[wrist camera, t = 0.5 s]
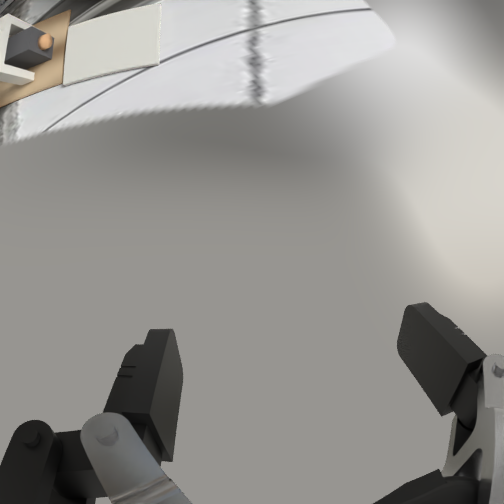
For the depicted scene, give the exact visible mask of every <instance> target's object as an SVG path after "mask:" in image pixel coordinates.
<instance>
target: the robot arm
mask: <svg viewBox="0 0 504 504" xmlns="http://www.w3.org/2000/svg"><path fill="white" fill-rule="evenodd" d="M397 349H398V353H399V355H400V357H401V359H402V360H403V361H404V363H405V364H406V366H407V367H408V368H409V370H410V371H411V373H412V374H413V375H414V377H415V378H416V380H417V381H418V383H419V384H420V385H421V387H422V388H423V390H424V391H425V392H426V394H427V396H428V397H429V398H430V400H431V402H432V403H433V404H434V406H435V408H436V409H437V411H438V412H439V414H440V415H441V416H443V415H446V414H448V413H450V412H453V411H454V412H455V414H456V415H455V416H454V418H453V421H452V428H451V435H450V441H449V447H448V453H447V458H446V463H445V466H444V468H443V470H442V472H440V470H439V469H437V470H435V471H433V472H431V473H429V474H426V475H424V476H422V477H419V478H417V479H415V480H412V481H410V482H407V483H405V484H404V485H402V486H401V487H399V488H398V489H396V490H394V491H393V492H391V493H390V494H388V495H387V496H385V497H383V498H382V499H380V500H378V501H377V502H375V503H373V504H504V356H502V355H497V354H493V355H489V356H487V355H486V354H485V353H484V352H483V351H482V350H481V349H480V348H479V347H478V346H477V345H476V344H475V343H474V342H473V341H472V340H471V339H470V338H469V337H468V336H467V335H464V332H463V331H462V330H460V329H458V326H456V325H455V324H454V323H453V322H452V321H451V320H450V319H449V318H447V317H444V316H443V315H441V314H439V313H438V312H437V311H436V310H435V309H434V308H433V307H431V305H429V304H428V303H426V302H424V303H418V304H413V305H408V306H407V307H406V309H405V311H404V315H403V320H402V324H401V328H400V332H399V336H398V340H397ZM182 384H183V369H182V364H181V359H180V355H179V351H178V346H177V342H176V337H175V333H174V331H173V329H150V330H149V332H148V334H147V337H146V340H145V343H144V345H137V344H136V345H135V346H133V348H132V349H130V350H129V351H128V352H127V353H126V355H125V357H124V360H123V362H122V364H121V368H120V369H119V372H118V374H117V377H116V379H115V382H114V384H113V387H112V389H111V392H110V395H109V398H108V400H107V403H106V406H105V408H104V411H103V413H101V414H97V415H95V416H93V417H92V418H90V419H89V420H88V421H87V422H86V423H85V424H84V425H83V427H82V430H77V431H68V432H58V433H54V432H53V430H52V429H51V428H50V426H49V425H48V424H46V423H45V422H43V421H40V420H31V421H27V422H25V423H23V424H22V425H20V426H19V427H18V428H17V429H16V430H15V432H14V434H13V436H12V438H11V441H10V443H9V446H8V448H7V450H6V452H5V455H4V458H3V460H2V462H1V465H0V504H95V500H96V498H99V497H109V499H110V501H111V503H112V504H192V503H191V501H189V499H188V498H187V497H186V496H185V495H184V493H183V492H182V491H181V490H180V489H179V487H178V486H177V485H176V484H175V483H174V482H173V481H172V480H171V479H170V478H169V477H168V476H167V475H166V474H165V472H164V471H163V470H162V469H161V467H160V466H161V461H168V462H172V461H173V453H174V445H175V436H176V428H177V420H178V413H179V406H180V399H181V392H182Z"/></svg>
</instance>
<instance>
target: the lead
mask: <svg viewBox="0 0 504 504" xmlns="http://www.w3.org/2000/svg"><path fill="white" fill-rule="evenodd" d="M53 45H54V37H52V36H51V35H50V34H49V33H45V32H43V31H41V30H39V29H37V28H35V27H33V26H31V27H29V28H27V29H25V30H23V31H21V32H19V33H17V34H15V35H13V36H11V37H10V38H8V43H7V48H6V55H5V61H4V64H6V65H10V66H14V67H17V68H21V69H24V70H27V69H29V68H31V67H34V66H36V65H38V64H41V63H43V62H46V61H48V60H51V59H52V54H53Z"/></svg>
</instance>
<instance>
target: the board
mask: <svg viewBox="0 0 504 504" xmlns="http://www.w3.org/2000/svg"><path fill="white" fill-rule="evenodd" d="M70 15H71V10H68V11H65V12H62V13H60V14H57V15H55V16H53V17H50V18H48V19H46V20H43V21H41V22H39V23H37V24H35V25H33V26H34V27H36V28H38V29H40V30H41V31H43V32H45V33H49V34H50V35H51V36H52V37H54V45H53V54H52V59H51V60H48V61H46V62H43V63H41V64H38V65H36V66H34V67H31V68H29V69H27V71H31V72H34V73H35V75H34V81H31V82H29V83H27V84H24V85H17V84H12V83H7V82H2V81H0V108H1V107H3V106H5V105H8V104H10V103H12V102H15V101H17V100H19V99H22V98H24V97H27V96H29V95H32V94H34V93H37V92H40V91H42V90H45V89H48V88H51V87H54V86H57V85H60V84H63V76H64V62H65V51H66V42H67V35H68V27H69V21H70ZM9 38H10V37H9Z"/></svg>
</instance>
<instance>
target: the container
mask: <svg viewBox="0 0 504 504" xmlns="http://www.w3.org/2000/svg"><path fill="white" fill-rule="evenodd" d="M13 1H14V0H0V13H1V12H2V11H3V10H4V9H5V8H6V7H8V6H9V5H10V4H11V3H12V2H13Z"/></svg>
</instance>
